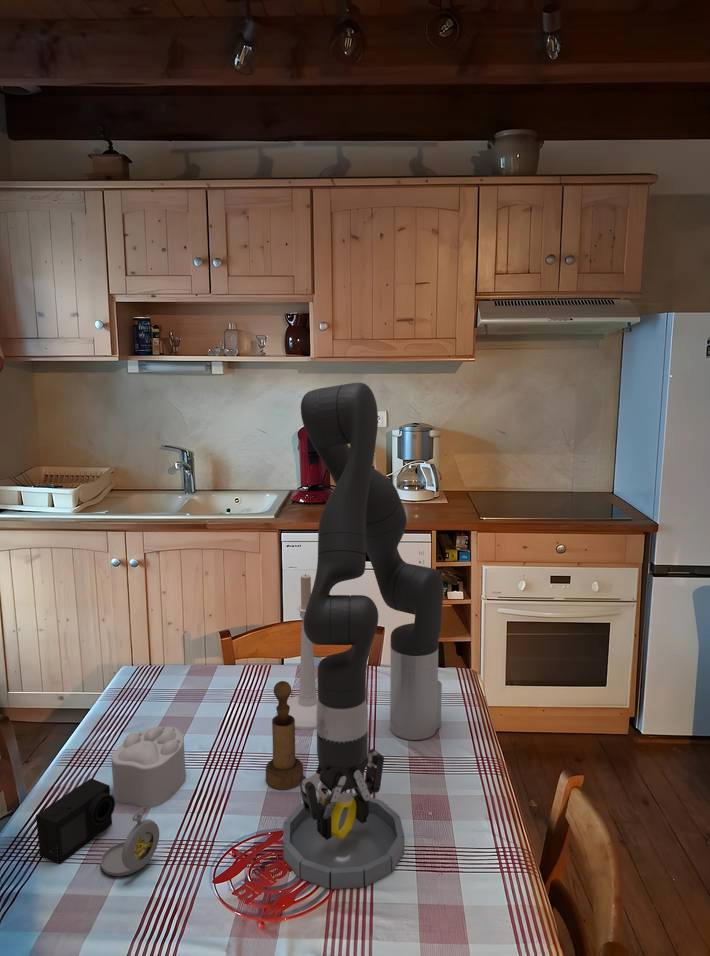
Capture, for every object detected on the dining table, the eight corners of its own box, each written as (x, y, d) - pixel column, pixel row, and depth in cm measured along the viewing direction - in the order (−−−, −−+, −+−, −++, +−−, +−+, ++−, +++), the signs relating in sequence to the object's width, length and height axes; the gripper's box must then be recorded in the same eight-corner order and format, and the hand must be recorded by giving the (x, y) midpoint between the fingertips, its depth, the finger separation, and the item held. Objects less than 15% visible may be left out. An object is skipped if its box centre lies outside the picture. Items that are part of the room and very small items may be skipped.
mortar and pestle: (297, 792, 123) (295, 693, 119) (260, 787, 124) (257, 690, 121) (307, 769, 129) (305, 675, 126) (272, 765, 130) (270, 672, 127)
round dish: (358, 793, 122) (357, 780, 122) (427, 854, 107) (427, 839, 107) (262, 834, 112) (262, 820, 111) (324, 907, 97) (324, 891, 97)
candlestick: (351, 708, 150) (350, 570, 145) (315, 736, 140) (313, 588, 134) (301, 693, 157) (299, 560, 152) (264, 718, 147) (259, 577, 141)
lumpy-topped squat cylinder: (105, 799, 121) (101, 752, 119) (149, 757, 133) (146, 714, 132) (159, 811, 118) (156, 762, 116) (199, 767, 130) (197, 722, 129)
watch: (344, 821, 113) (345, 785, 112) (360, 826, 111) (361, 790, 111) (325, 841, 107) (326, 804, 107) (341, 847, 106) (342, 809, 105)
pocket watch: (107, 848, 109) (103, 788, 107) (164, 845, 110) (160, 785, 108) (92, 888, 101) (87, 824, 99) (154, 884, 102) (150, 820, 100)
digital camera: (64, 868, 105) (60, 825, 104) (39, 856, 108) (35, 814, 106) (118, 826, 114) (115, 786, 113) (93, 816, 117) (90, 777, 115)
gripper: (367, 701, 113) (367, 798, 116) (286, 729, 105) (289, 832, 108) (396, 722, 107) (396, 823, 110) (313, 753, 99) (315, 861, 102)
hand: (343, 827), depth 109 cm, fingers closed on watch, 5 cm apart
